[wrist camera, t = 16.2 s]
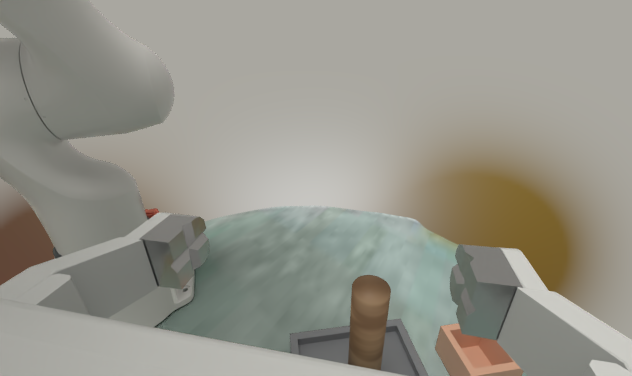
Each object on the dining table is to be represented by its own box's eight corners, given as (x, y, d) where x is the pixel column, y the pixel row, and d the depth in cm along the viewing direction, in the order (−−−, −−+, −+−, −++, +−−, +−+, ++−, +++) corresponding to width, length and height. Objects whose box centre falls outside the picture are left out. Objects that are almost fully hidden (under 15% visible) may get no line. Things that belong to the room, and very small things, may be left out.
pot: (435, 348, 40) (440, 325, 38) (479, 341, 41) (486, 319, 39) (463, 400, 34) (471, 376, 32) (514, 391, 35) (525, 367, 33)
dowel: (343, 377, 36) (348, 277, 29) (371, 373, 36) (382, 273, 30) (351, 410, 33) (357, 305, 26) (381, 404, 33) (396, 300, 26)
